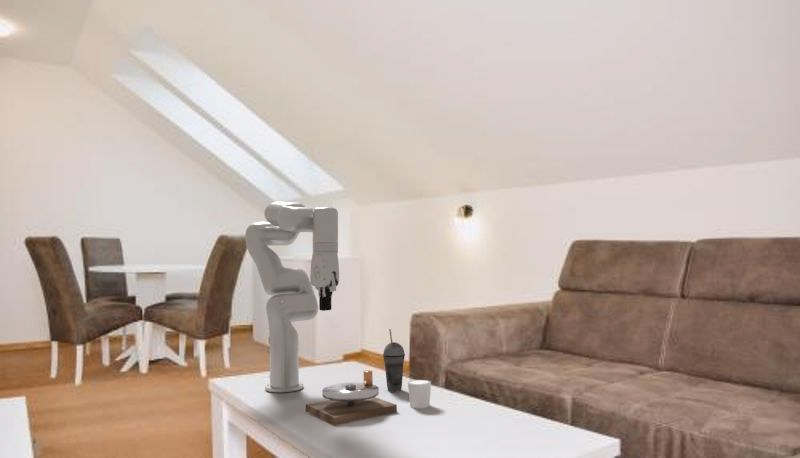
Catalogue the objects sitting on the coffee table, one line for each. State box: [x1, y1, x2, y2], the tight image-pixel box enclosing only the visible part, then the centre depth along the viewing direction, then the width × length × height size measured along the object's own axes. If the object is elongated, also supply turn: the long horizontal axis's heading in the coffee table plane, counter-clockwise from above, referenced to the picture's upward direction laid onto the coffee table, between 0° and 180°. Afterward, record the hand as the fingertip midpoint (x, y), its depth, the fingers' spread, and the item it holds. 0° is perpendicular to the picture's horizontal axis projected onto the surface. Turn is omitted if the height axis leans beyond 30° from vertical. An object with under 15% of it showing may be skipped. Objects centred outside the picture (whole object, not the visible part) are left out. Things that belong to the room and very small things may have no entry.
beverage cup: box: [382, 328, 406, 393], centre depth 189 cm, size 7×7×20 cm
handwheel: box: [321, 370, 380, 401], centre depth 164 cm, size 16×16×5 cm
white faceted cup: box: [407, 379, 432, 409], centre depth 169 cm, size 7×7×7 cm
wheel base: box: [305, 396, 398, 426], centre depth 164 cm, size 17×20×5 cm
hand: (325, 309), depth 172 cm, fingers closed
